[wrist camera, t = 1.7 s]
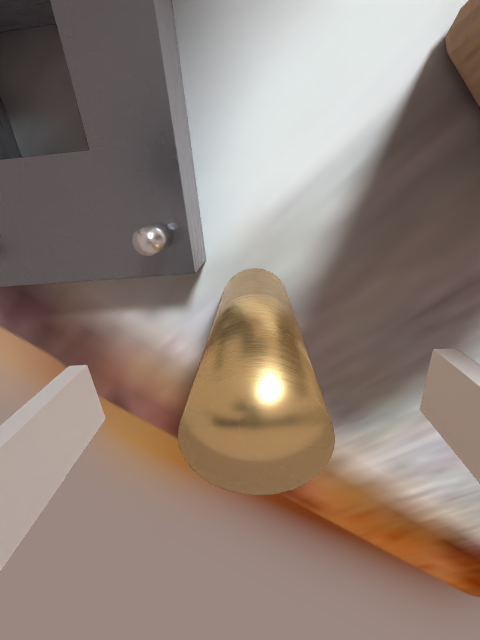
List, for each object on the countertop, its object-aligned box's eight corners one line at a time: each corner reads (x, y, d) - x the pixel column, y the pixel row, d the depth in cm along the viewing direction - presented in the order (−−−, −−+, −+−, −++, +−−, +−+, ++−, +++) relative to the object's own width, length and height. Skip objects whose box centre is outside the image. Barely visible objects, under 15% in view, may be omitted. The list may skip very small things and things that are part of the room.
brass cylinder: (219, 270, 18) (163, 383, 7) (286, 266, 18) (339, 376, 7) (226, 330, 20) (190, 495, 9) (287, 327, 19) (330, 494, 8)
